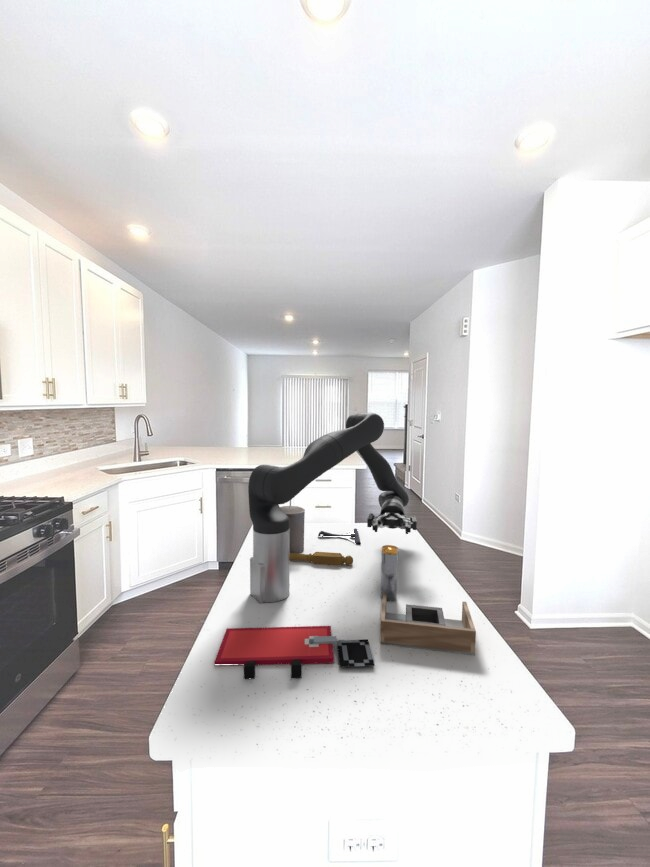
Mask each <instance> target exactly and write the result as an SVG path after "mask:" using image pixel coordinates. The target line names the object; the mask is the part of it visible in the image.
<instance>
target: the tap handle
mask: <svg viewBox="0 0 650 867" xmlns="http://www.w3.org/2000/svg"><path fill="white" fill-rule="evenodd" d="M289 562H308V563H312V564H313V565H320V566H335V567H336V566H337V567H340V566H342V565H344V564H346V566H351V565H353V563H354V558H353V557H352V556H351V555H347V556H344V555H343V554H342V553H340V552H328V551H327V552H326V551H315V552H314V553H309V554H308V553H307V554H306V553H290V555H289Z"/></svg>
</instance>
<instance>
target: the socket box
mask: <svg viewBox="0 0 650 867" xmlns="http://www.w3.org/2000/svg"><path fill="white" fill-rule="evenodd" d="M381 600H382V599H381ZM461 603H462V605H461V606H462V607H461V619H453V618H452V619H451V618H445V616H444V610H443V607H437V606H428V605H427V606H426V605H417V604H416V605H415V604H408V603H407V604H405V614H404V613H396V612H395V613H394V612H387V601H386V594H383V600H382V603H381V613H380V631H379V632H380V635H379V637H380V638H379V645H380V644H381V645H390V646H396V647H398V646H399V647H406V648H414V649H422V650H431V651H438V652H446V653H454V654H455V653H456V654H463V655H471V656H475V655H476V640H477V639H476V638H477V630H476V628H475V625H474V621H473V618H472V615H471V612H470V608H469V605H468V602H467V601H462V602H461Z"/></svg>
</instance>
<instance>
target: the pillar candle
mask: <svg viewBox="0 0 650 867" xmlns="http://www.w3.org/2000/svg"><path fill="white" fill-rule="evenodd" d="M279 507H280V508H281V510H282V511H283V512H284V513H285V514H286V515H287V516H288V517H289V521H290V553H299V554H302V553H303V552H304V550H305V547H304V546H305V517H306V516H305V512H306V511H305V508H303V507H301V506H299V505H298V506H297V505H283V506H279Z"/></svg>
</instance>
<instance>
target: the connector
mask: <svg viewBox="0 0 650 867" xmlns="http://www.w3.org/2000/svg"><path fill="white" fill-rule="evenodd" d="M398 552H399V548H398V547H397V546H395V545H391V544H385V545H382V547H381V563H380V564H381V565H380V566H381V568H380V570H381V571H380V573H381V574H380V599H381V600H383V594H386V602H389V603H390V602H391V603H392V602H395V601H396V600H397V599H398V598H397V597H398V596H397V593H398V564H399V563H398V561H399V560H398V559H399V557H398V556H399V553H398Z"/></svg>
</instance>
